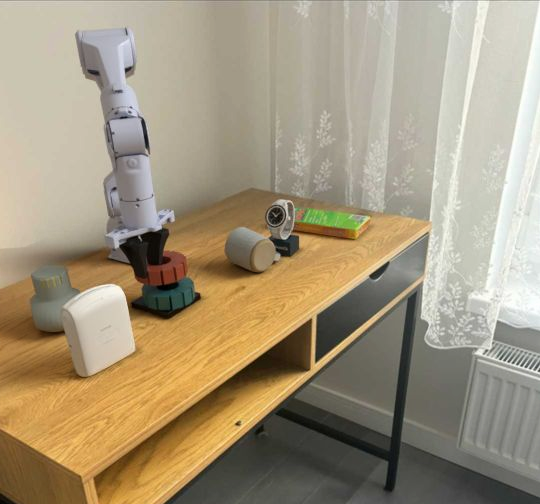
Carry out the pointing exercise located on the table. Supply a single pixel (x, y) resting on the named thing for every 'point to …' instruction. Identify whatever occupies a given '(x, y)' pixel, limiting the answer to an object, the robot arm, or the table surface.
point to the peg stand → (167, 314)
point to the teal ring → (169, 295)
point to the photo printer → (97, 328)
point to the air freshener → (50, 296)
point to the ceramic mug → (250, 250)
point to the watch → (282, 227)
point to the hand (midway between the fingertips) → (148, 273)
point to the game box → (330, 222)
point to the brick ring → (166, 269)
